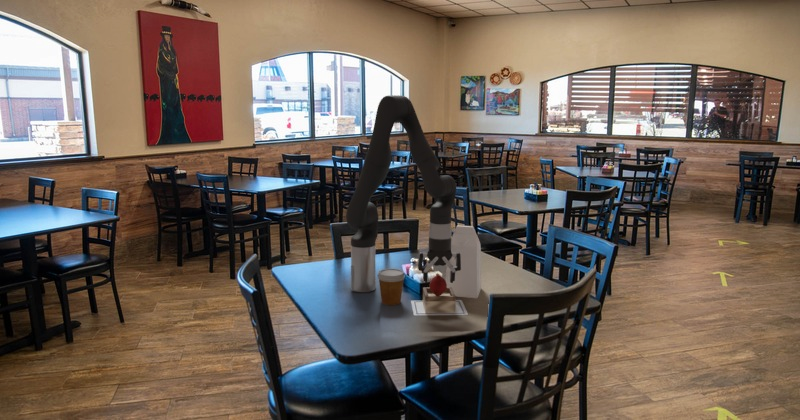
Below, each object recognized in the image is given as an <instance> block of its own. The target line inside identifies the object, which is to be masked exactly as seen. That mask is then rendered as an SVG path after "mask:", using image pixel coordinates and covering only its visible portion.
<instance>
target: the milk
mask: <svg viewBox="0 0 800 420" xmlns="http://www.w3.org/2000/svg"><path fill="white" fill-rule="evenodd" d="M481 245H482V244H481V242H480V239H479V237H478V234H477V232H476V229H475V227H474V226H473V225H459V224H458V225H456V227H455V229H454V230H453V234H452V235H451V253H456V252H459V253H460V256H461V270H460V271H456V272H455V281H453V283H450V271H451V269H450V268H449V267H448V266H447V265H446V268H445V269H446V270H445V281H446V284H447V287H452V289H453V292H454V294H455V296H456V297H459V298H470V299H478V297H479V295H480V294H481V293H480V292H481V290H482V257H481V256H482V249H481V247H482V246H481ZM449 261H450V263H451V264H452V265H453V267H455V266H456V259H455V258H454V257H453V256H452V258H451V259H450V260H449Z"/></svg>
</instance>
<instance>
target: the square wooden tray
mask: <svg viewBox="0 0 800 420" xmlns="http://www.w3.org/2000/svg"><path fill="white" fill-rule="evenodd" d="M456 298H457V296H455V294H454V292H453V289H452V287H447V289H446V291H445V292H444V293H443V294H441V295H440V296H436V295H435V294H434V293H433V292H432V291H431V290H430V286H429V287H428V286H427V287H425V286H424V287H422V301H423V305H424V309H425V313H455V308H456V300H457V299H456Z"/></svg>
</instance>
